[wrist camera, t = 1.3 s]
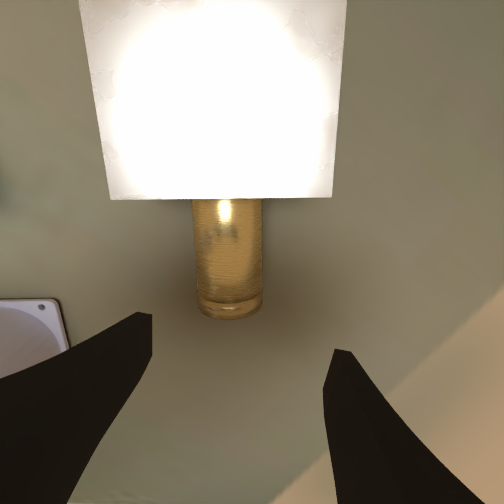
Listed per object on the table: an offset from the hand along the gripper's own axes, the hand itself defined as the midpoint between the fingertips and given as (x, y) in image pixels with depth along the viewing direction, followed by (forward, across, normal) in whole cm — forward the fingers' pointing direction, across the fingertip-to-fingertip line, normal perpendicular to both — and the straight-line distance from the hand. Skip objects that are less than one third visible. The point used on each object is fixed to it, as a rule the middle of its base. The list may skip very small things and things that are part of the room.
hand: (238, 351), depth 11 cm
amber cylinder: (+9, +3, -3) cm, 10 cm away
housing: (+10, +3, -8) cm, 14 cm away
